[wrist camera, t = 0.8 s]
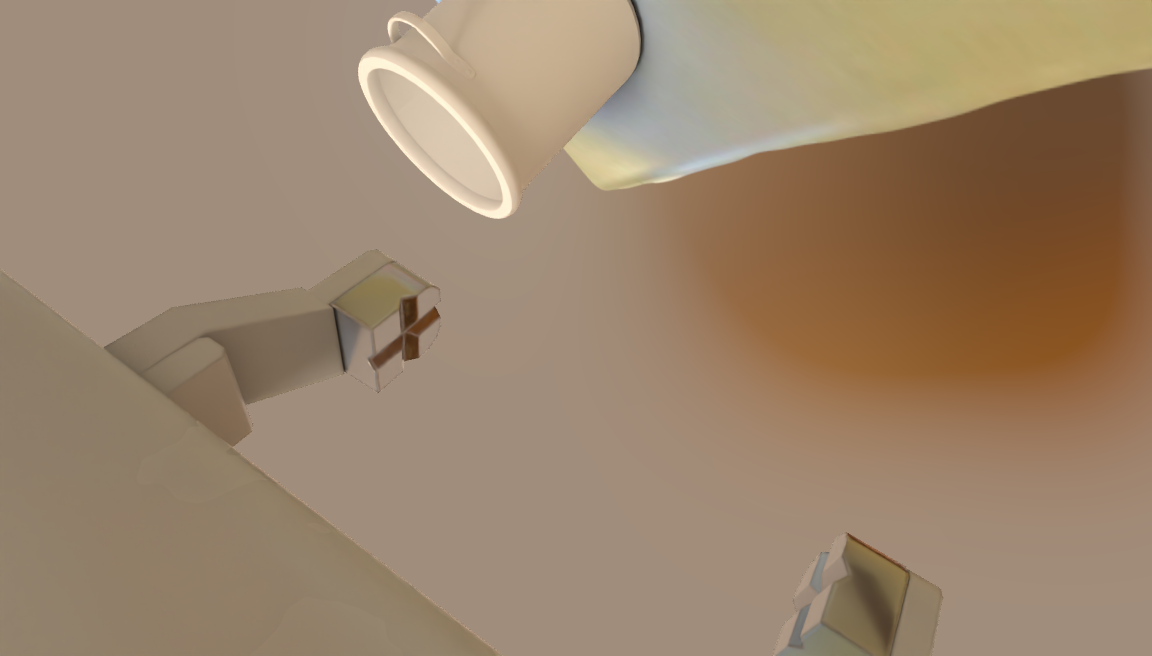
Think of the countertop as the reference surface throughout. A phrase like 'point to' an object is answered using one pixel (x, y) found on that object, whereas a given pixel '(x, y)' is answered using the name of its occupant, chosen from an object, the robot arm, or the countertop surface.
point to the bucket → (497, 88)
